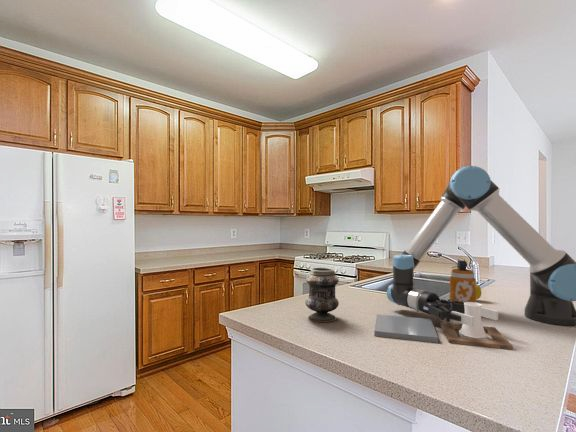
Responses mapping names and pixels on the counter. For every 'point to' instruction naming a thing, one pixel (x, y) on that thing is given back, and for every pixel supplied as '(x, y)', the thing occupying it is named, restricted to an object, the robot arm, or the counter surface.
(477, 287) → the lemon
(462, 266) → the canister
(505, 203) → the robot arm
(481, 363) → the counter surface
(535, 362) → the counter surface
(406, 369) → the counter surface
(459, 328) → the holder frame
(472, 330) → the vase
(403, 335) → the slate board
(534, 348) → the counter surface
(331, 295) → the apothecary jar
